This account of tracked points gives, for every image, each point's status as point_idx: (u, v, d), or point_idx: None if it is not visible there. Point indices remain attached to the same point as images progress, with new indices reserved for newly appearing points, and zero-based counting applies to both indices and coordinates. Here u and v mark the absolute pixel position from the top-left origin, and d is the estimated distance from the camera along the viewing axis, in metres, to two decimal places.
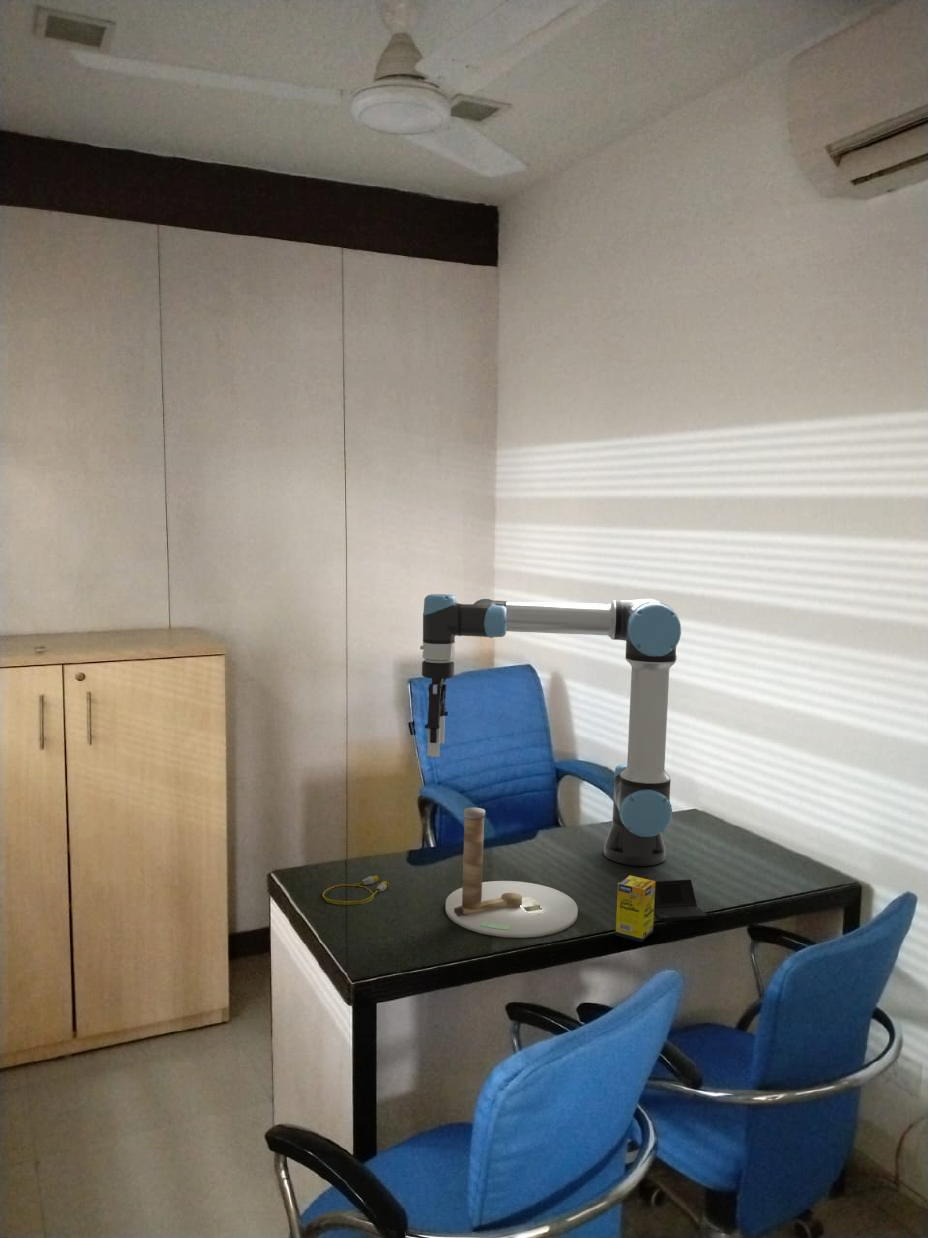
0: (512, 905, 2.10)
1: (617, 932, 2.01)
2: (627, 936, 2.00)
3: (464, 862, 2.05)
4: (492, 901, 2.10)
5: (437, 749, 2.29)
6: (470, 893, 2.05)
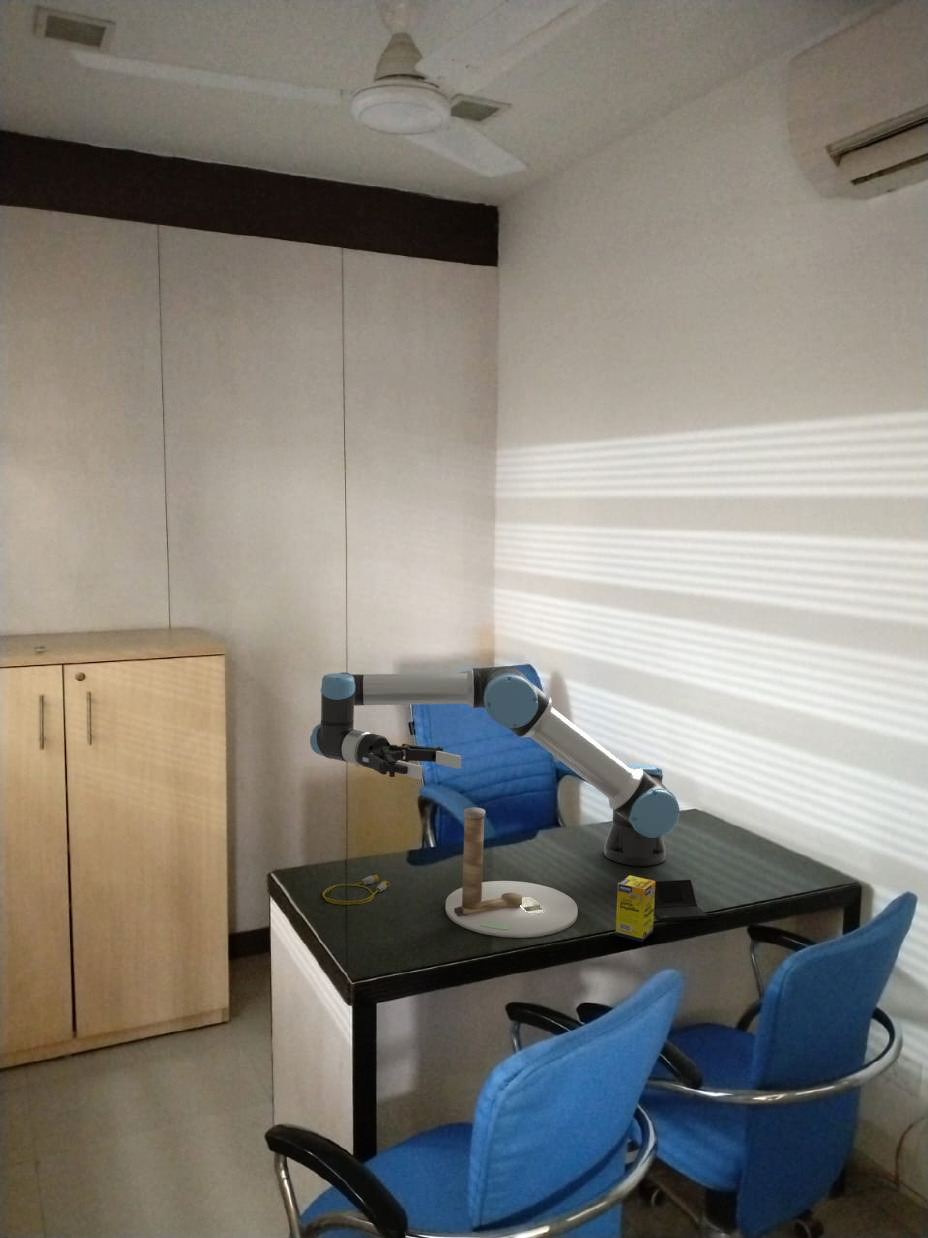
0: (512, 905, 2.10)
1: (617, 932, 2.01)
2: (627, 936, 2.00)
3: (464, 862, 2.05)
4: (492, 901, 2.10)
5: (413, 767, 2.06)
6: (470, 893, 2.05)
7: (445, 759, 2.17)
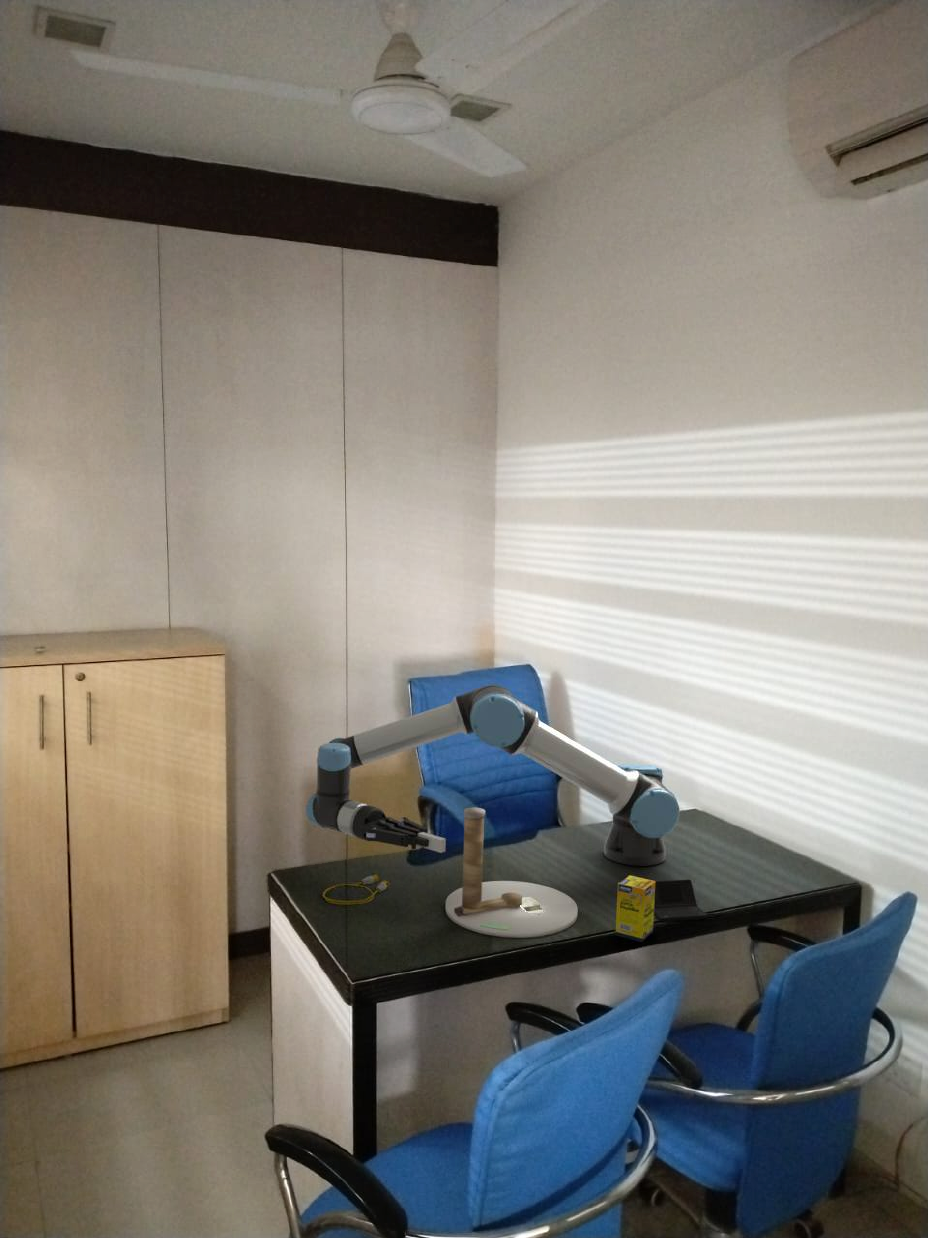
0: (512, 905, 2.10)
1: (617, 932, 2.01)
2: (627, 936, 2.00)
3: (464, 862, 2.05)
4: (492, 901, 2.10)
5: (434, 840, 2.11)
6: (470, 893, 2.05)
7: None
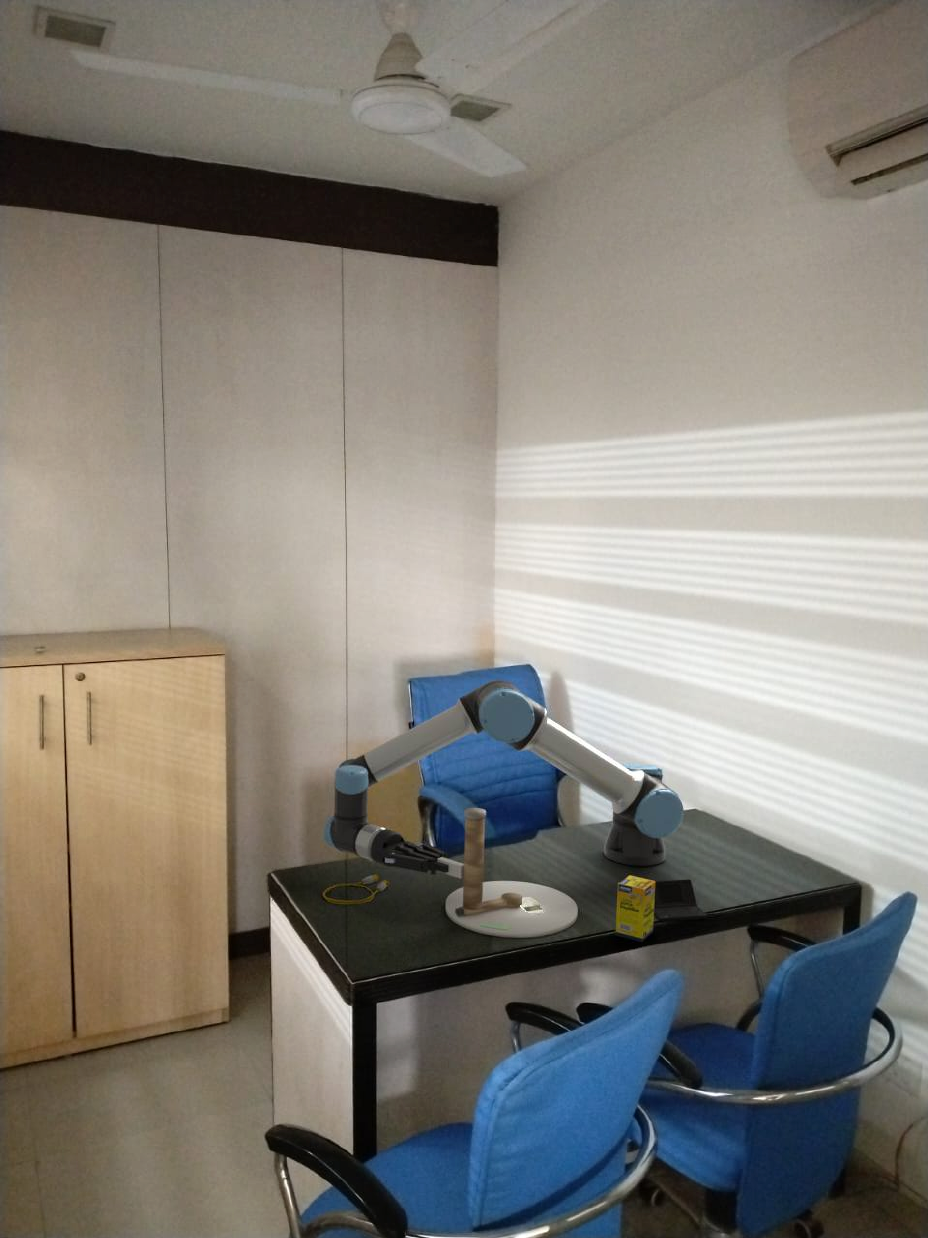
0: (512, 905, 2.10)
1: (617, 932, 2.01)
2: (627, 936, 2.00)
3: (465, 863, 2.05)
4: (493, 901, 2.10)
5: (454, 866, 2.07)
6: (471, 893, 2.05)
7: None
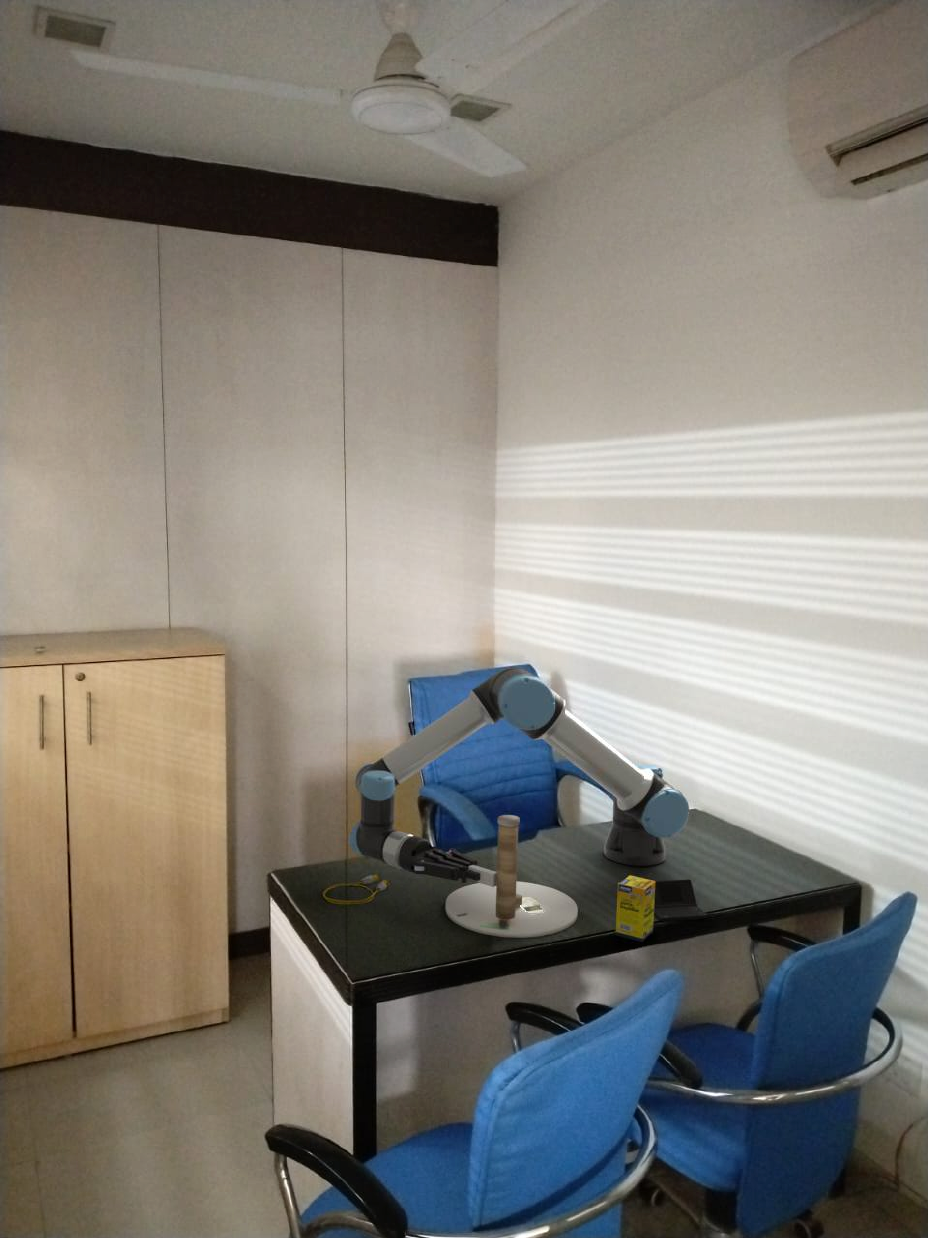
0: (519, 904, 2.11)
1: (617, 932, 2.01)
2: (627, 936, 2.00)
3: (504, 873, 2.00)
4: None
5: (486, 874, 2.03)
6: (512, 902, 2.01)
7: None
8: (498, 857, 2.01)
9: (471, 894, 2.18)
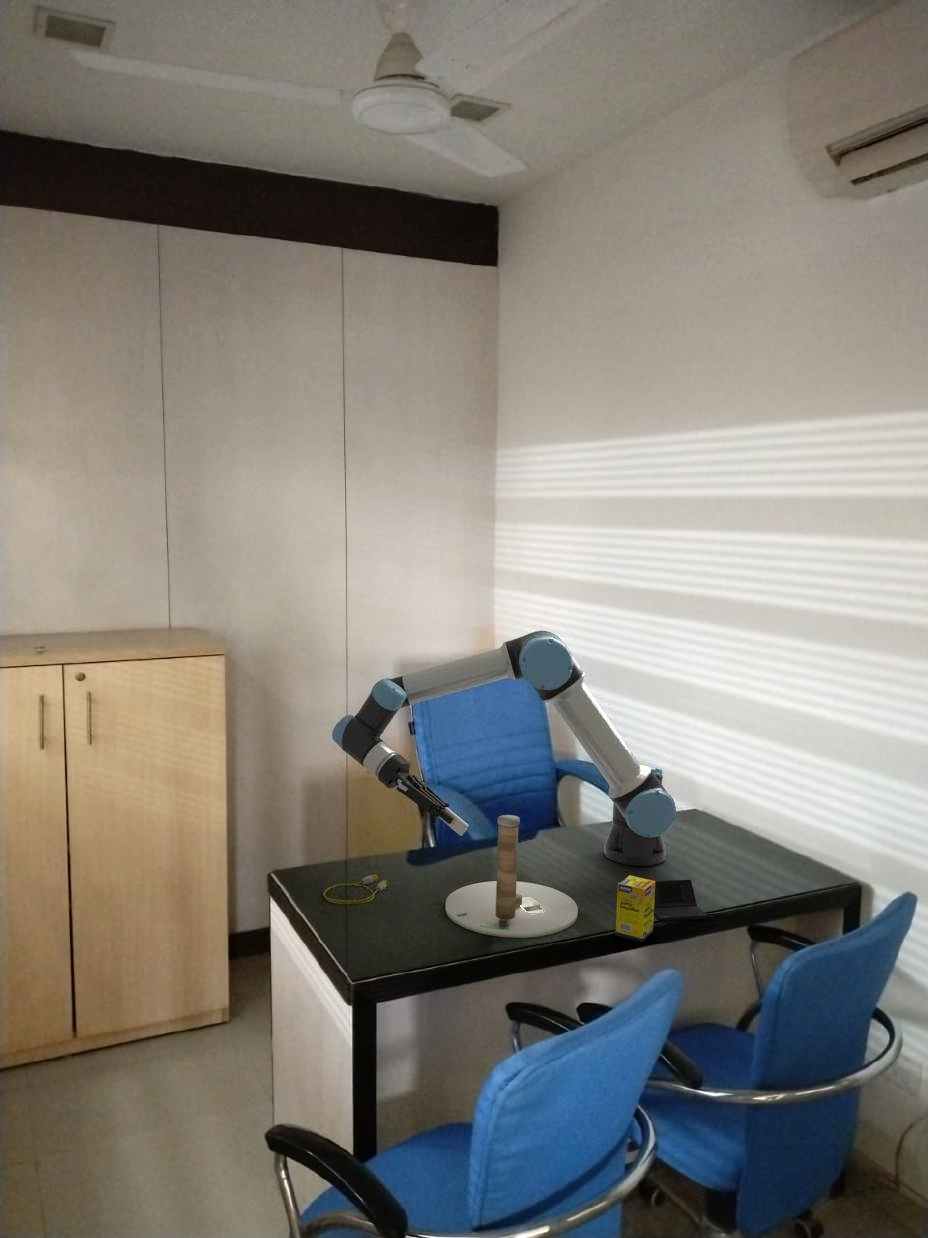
0: (519, 904, 2.11)
1: (617, 932, 2.01)
2: (627, 936, 2.00)
3: (504, 873, 2.00)
4: None
5: (460, 822, 2.21)
6: (512, 902, 2.01)
7: None
8: (498, 857, 2.01)
9: (471, 894, 2.18)
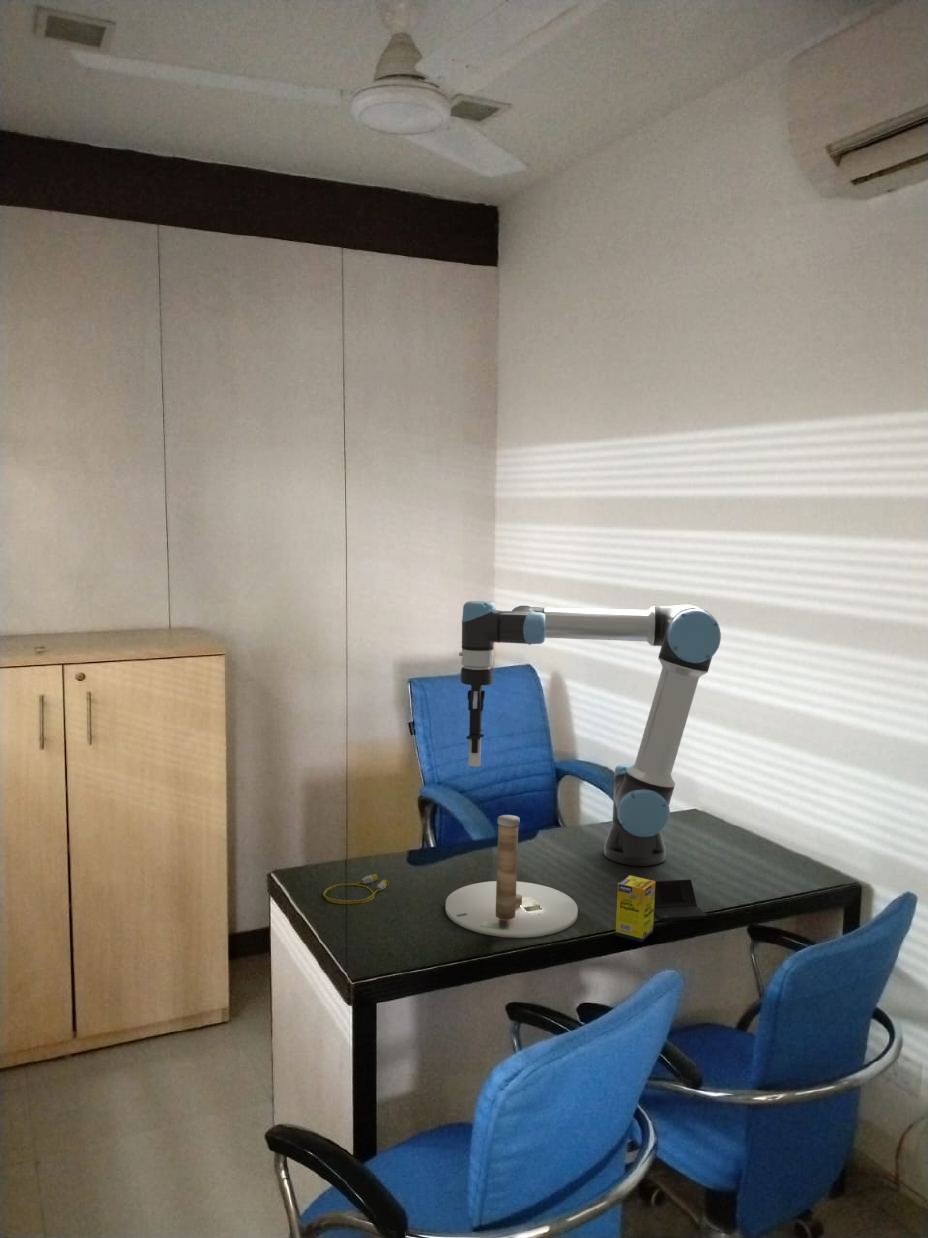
0: (519, 904, 2.11)
1: (617, 932, 2.01)
2: (627, 936, 2.00)
3: (504, 873, 2.00)
4: None
5: (478, 759, 2.37)
6: (512, 902, 2.01)
7: None
8: (498, 857, 2.01)
9: (471, 894, 2.18)
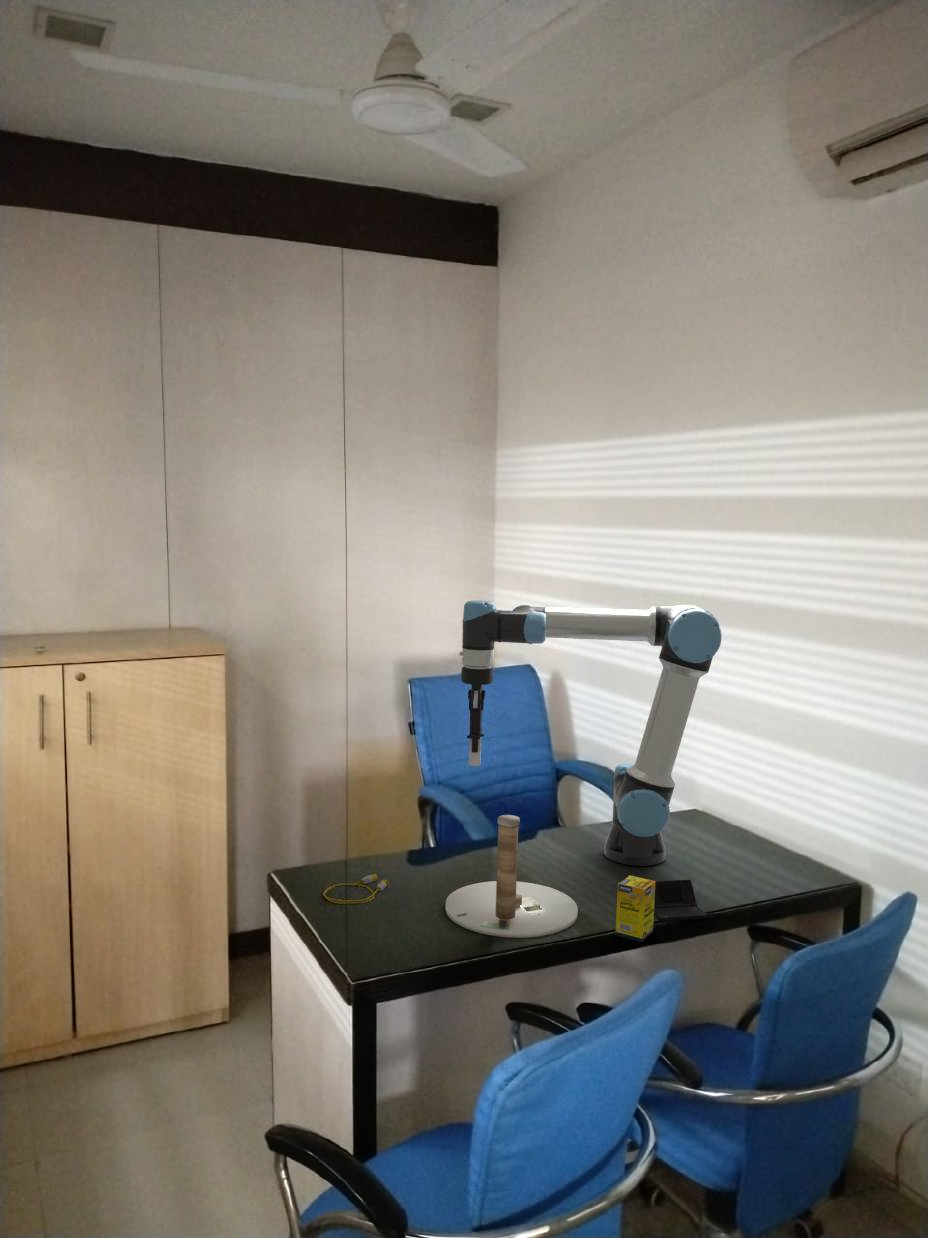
0: (519, 904, 2.11)
1: (617, 932, 2.01)
2: (627, 936, 2.00)
3: (504, 873, 2.00)
4: None
5: (478, 758, 2.37)
6: (512, 902, 2.01)
7: None
8: (498, 857, 2.01)
9: (471, 894, 2.18)
